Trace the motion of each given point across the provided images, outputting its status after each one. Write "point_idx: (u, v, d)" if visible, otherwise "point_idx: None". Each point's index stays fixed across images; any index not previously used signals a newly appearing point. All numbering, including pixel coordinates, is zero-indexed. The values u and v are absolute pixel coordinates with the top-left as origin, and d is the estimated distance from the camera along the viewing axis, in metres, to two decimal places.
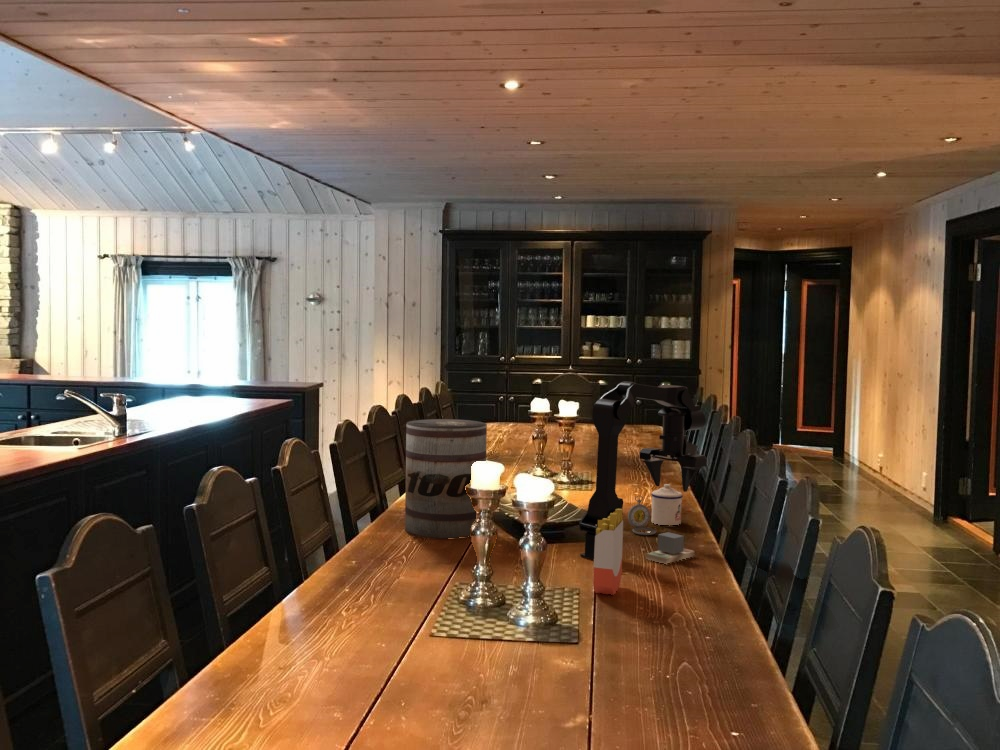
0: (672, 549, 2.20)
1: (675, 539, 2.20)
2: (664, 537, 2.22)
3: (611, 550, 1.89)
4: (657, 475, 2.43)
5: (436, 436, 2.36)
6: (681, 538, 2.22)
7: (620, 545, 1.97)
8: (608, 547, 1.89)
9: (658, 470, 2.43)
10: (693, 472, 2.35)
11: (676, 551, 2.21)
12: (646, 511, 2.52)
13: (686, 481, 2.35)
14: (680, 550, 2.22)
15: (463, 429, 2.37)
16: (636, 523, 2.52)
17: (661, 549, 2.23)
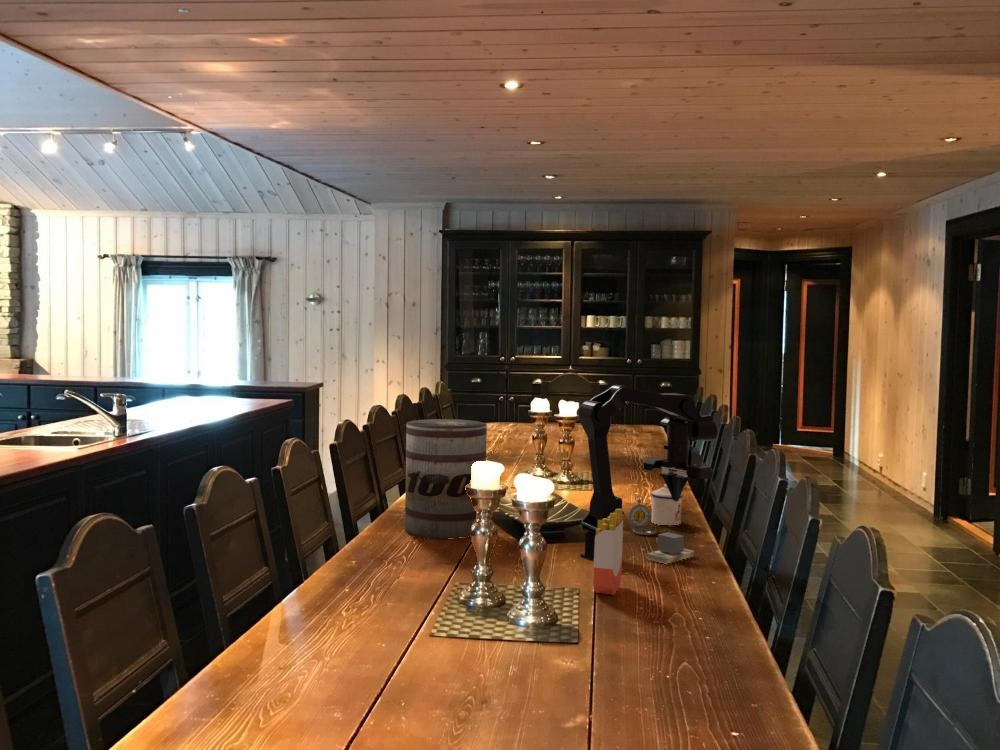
0: (672, 549, 2.20)
1: (675, 539, 2.20)
2: (664, 537, 2.22)
3: (611, 550, 1.89)
4: None
5: (436, 436, 2.36)
6: (681, 538, 2.22)
7: (620, 545, 1.97)
8: (608, 547, 1.89)
9: None
10: (685, 481, 2.30)
11: (676, 551, 2.21)
12: (646, 511, 2.52)
13: (677, 490, 2.29)
14: (680, 550, 2.22)
15: (463, 429, 2.37)
16: (636, 523, 2.52)
17: (661, 549, 2.23)
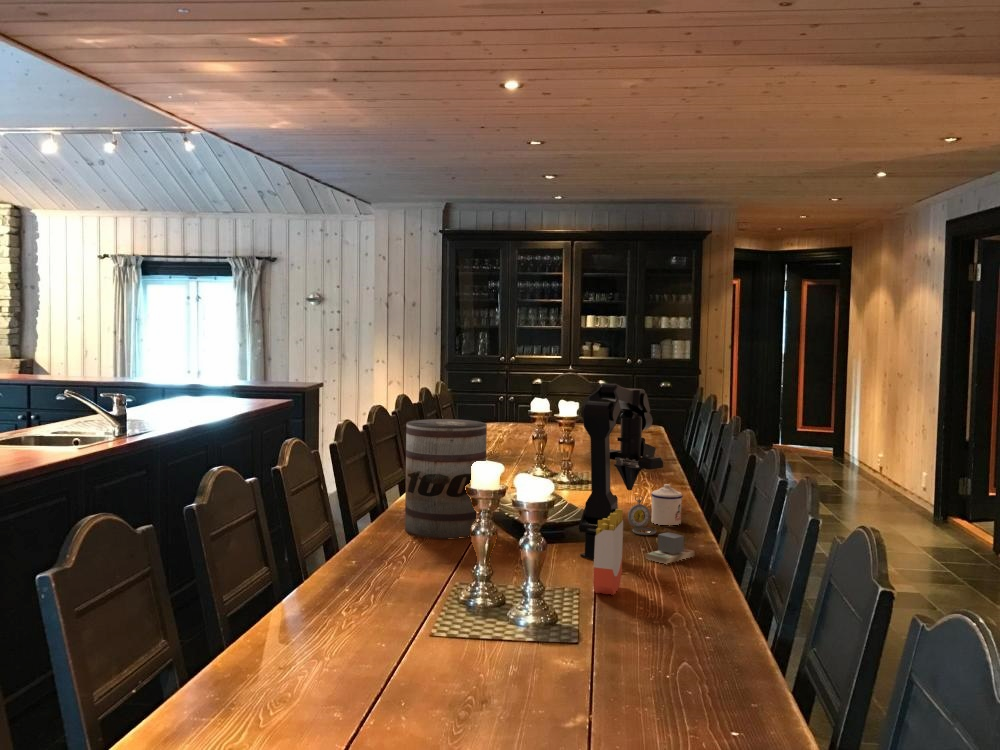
0: (672, 549, 2.20)
1: (675, 539, 2.20)
2: (664, 537, 2.22)
3: (611, 550, 1.89)
4: None
5: (436, 436, 2.36)
6: (681, 538, 2.22)
7: (620, 545, 1.97)
8: (608, 547, 1.89)
9: None
10: (637, 471, 2.42)
11: (676, 551, 2.21)
12: (646, 511, 2.52)
13: (631, 480, 2.42)
14: (680, 550, 2.22)
15: (463, 429, 2.37)
16: (636, 523, 2.52)
17: (661, 549, 2.23)
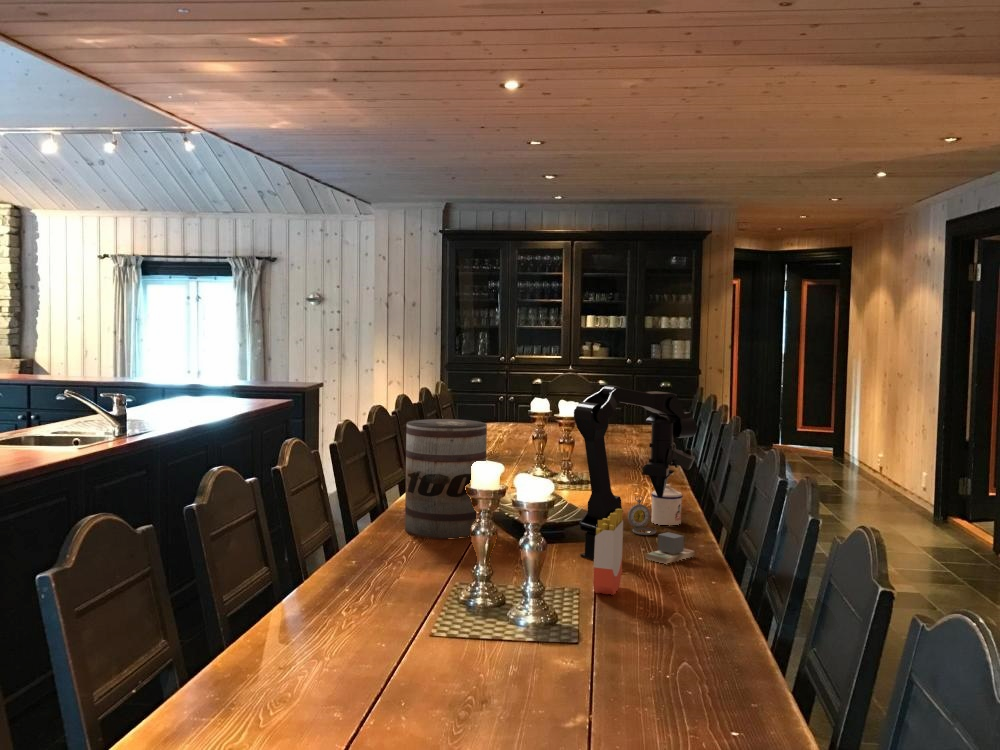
0: (672, 549, 2.20)
1: (675, 539, 2.20)
2: (664, 537, 2.22)
3: (611, 550, 1.89)
4: None
5: (437, 436, 2.36)
6: (681, 538, 2.22)
7: (620, 545, 1.97)
8: (608, 547, 1.89)
9: None
10: (663, 479, 2.32)
11: (676, 551, 2.21)
12: (646, 511, 2.52)
13: (655, 486, 2.34)
14: (680, 550, 2.22)
15: (463, 429, 2.37)
16: (636, 523, 2.52)
17: (661, 549, 2.23)
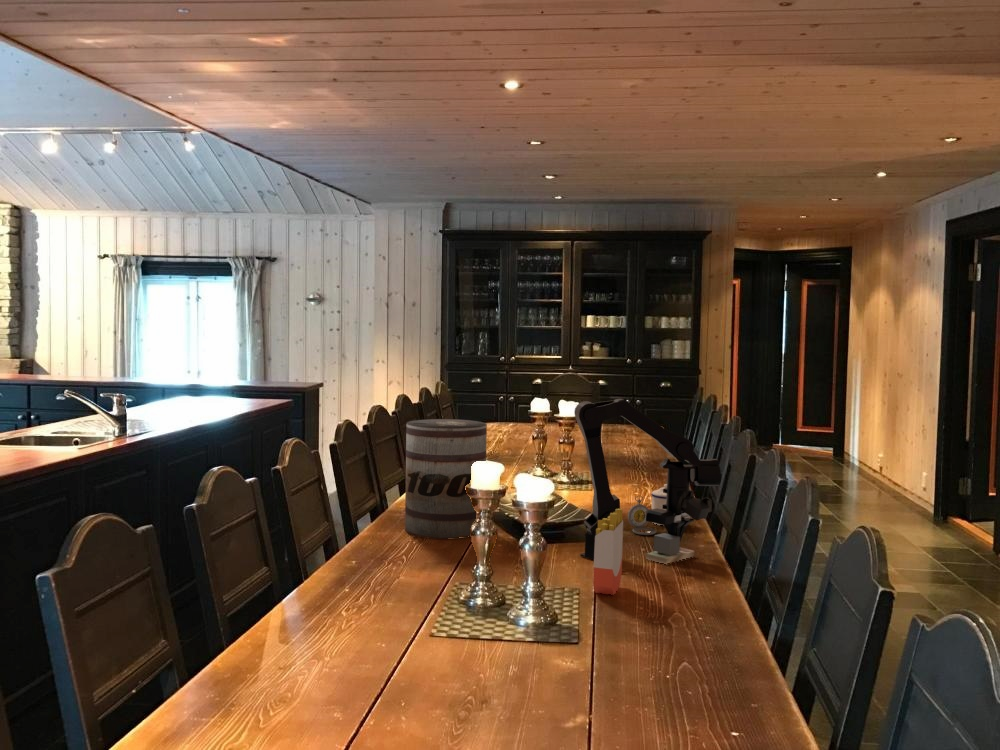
0: (668, 550, 2.19)
1: (671, 540, 2.19)
2: (660, 538, 2.21)
3: (611, 550, 1.89)
4: None
5: (436, 436, 2.36)
6: (677, 539, 2.21)
7: (620, 545, 1.97)
8: (608, 547, 1.89)
9: None
10: (675, 527, 2.22)
11: (673, 552, 2.20)
12: (646, 511, 2.52)
13: (670, 534, 2.24)
14: (676, 551, 2.21)
15: (463, 429, 2.37)
16: (636, 523, 2.52)
17: (657, 550, 2.22)
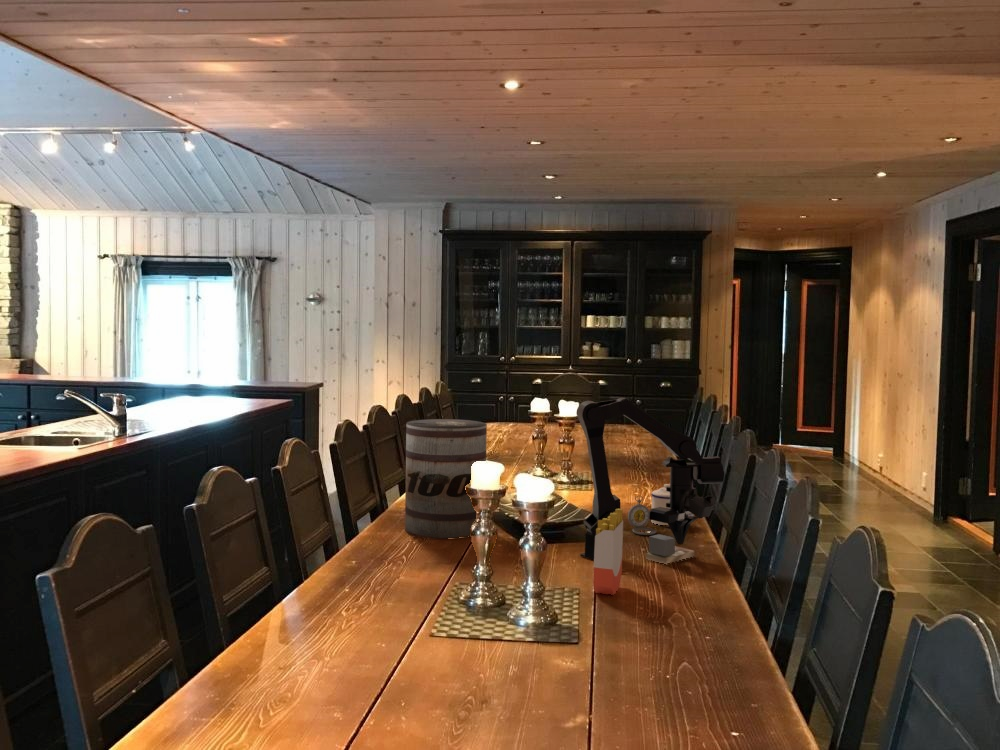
0: (663, 551, 2.18)
1: (666, 541, 2.18)
2: (655, 539, 2.20)
3: (611, 550, 1.89)
4: None
5: (436, 436, 2.36)
6: (673, 540, 2.19)
7: (620, 545, 1.97)
8: (608, 547, 1.89)
9: None
10: (679, 525, 2.23)
11: (668, 553, 2.18)
12: (646, 511, 2.52)
13: (674, 532, 2.25)
14: (671, 552, 2.19)
15: (463, 429, 2.37)
16: (636, 523, 2.52)
17: (652, 551, 2.20)
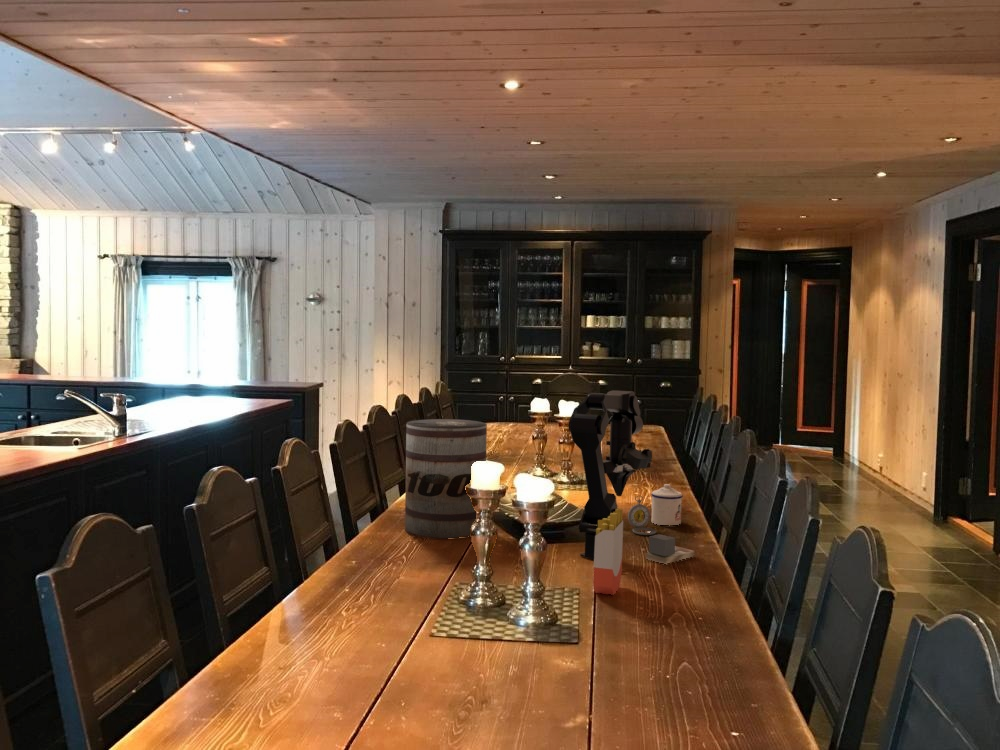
0: (663, 551, 2.18)
1: (666, 541, 2.18)
2: (655, 539, 2.20)
3: (611, 550, 1.89)
4: None
5: (436, 436, 2.36)
6: (673, 540, 2.19)
7: (620, 545, 1.97)
8: (608, 547, 1.89)
9: None
10: (617, 477, 2.33)
11: (668, 553, 2.18)
12: (646, 511, 2.52)
13: (613, 484, 2.35)
14: (671, 552, 2.19)
15: (463, 429, 2.37)
16: (636, 523, 2.52)
17: (652, 551, 2.20)
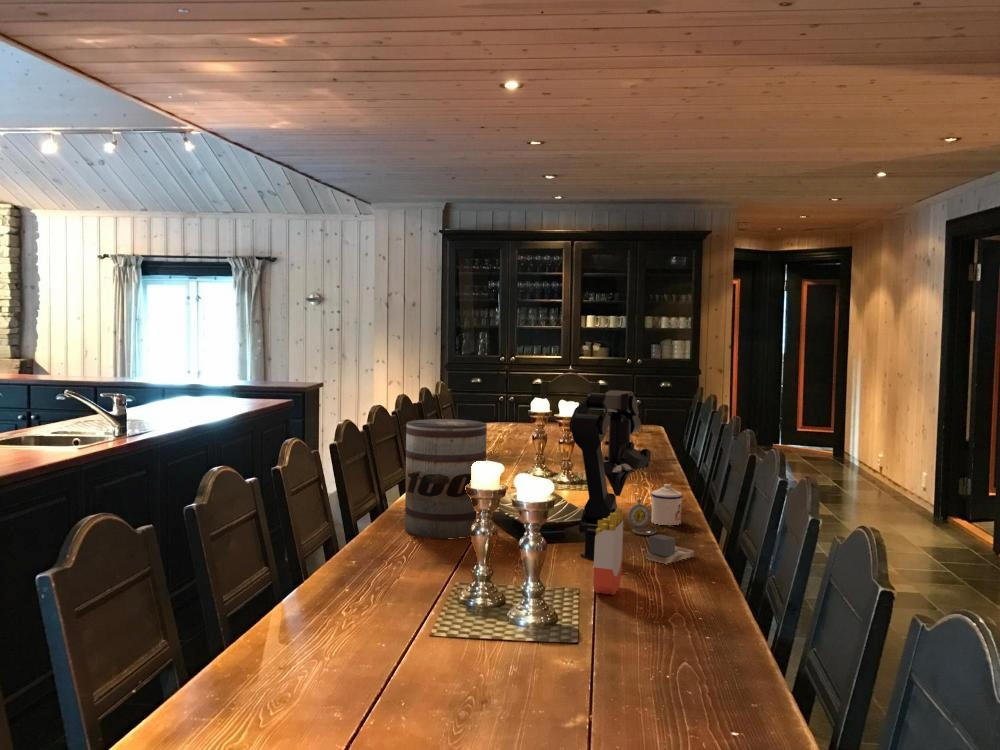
0: (663, 551, 2.18)
1: (666, 541, 2.18)
2: (655, 539, 2.20)
3: (611, 550, 1.89)
4: None
5: (436, 436, 2.36)
6: (673, 540, 2.19)
7: (620, 545, 1.97)
8: (608, 547, 1.89)
9: None
10: (616, 477, 2.34)
11: (668, 553, 2.18)
12: (646, 511, 2.52)
13: (611, 484, 2.36)
14: (671, 552, 2.19)
15: (463, 429, 2.37)
16: (636, 523, 2.52)
17: (652, 551, 2.20)
